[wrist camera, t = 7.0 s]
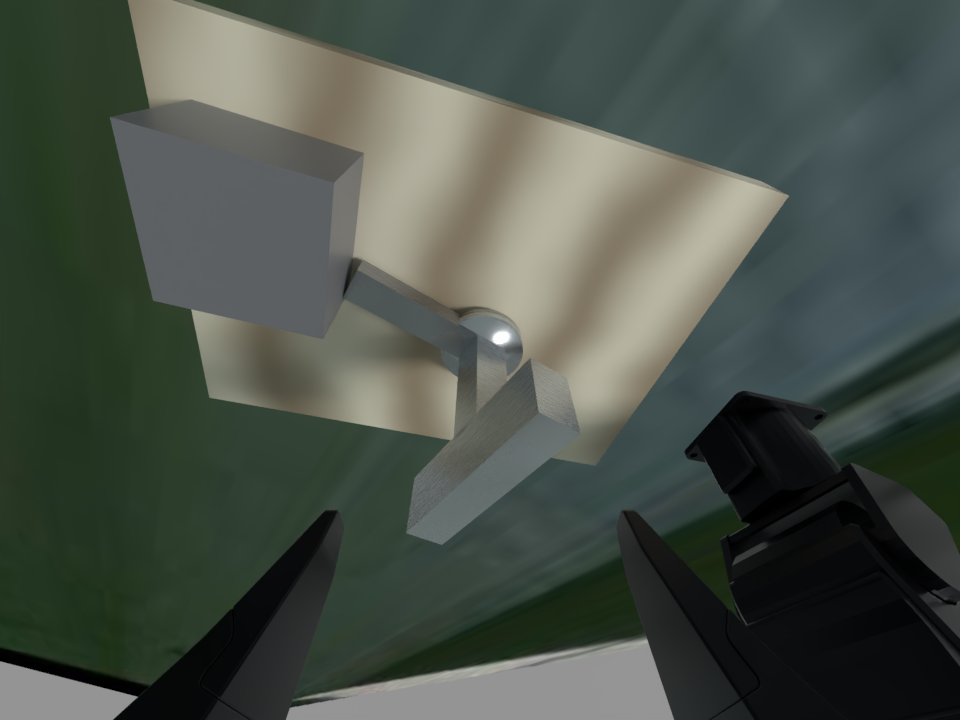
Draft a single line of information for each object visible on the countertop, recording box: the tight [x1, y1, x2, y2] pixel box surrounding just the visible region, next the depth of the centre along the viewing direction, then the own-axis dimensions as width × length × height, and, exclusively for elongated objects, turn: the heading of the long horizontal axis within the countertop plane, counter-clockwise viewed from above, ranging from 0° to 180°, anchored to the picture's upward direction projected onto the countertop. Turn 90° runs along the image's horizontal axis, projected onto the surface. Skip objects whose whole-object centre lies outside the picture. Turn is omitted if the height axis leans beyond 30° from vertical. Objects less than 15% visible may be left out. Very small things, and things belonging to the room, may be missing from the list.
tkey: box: [343, 260, 581, 545], centre depth 16 cm, size 8×9×8 cm
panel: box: [128, 0, 789, 466], centre depth 20 cm, size 24×18×2 cm
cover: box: [110, 99, 364, 339], centre depth 15 cm, size 6×6×4 cm
